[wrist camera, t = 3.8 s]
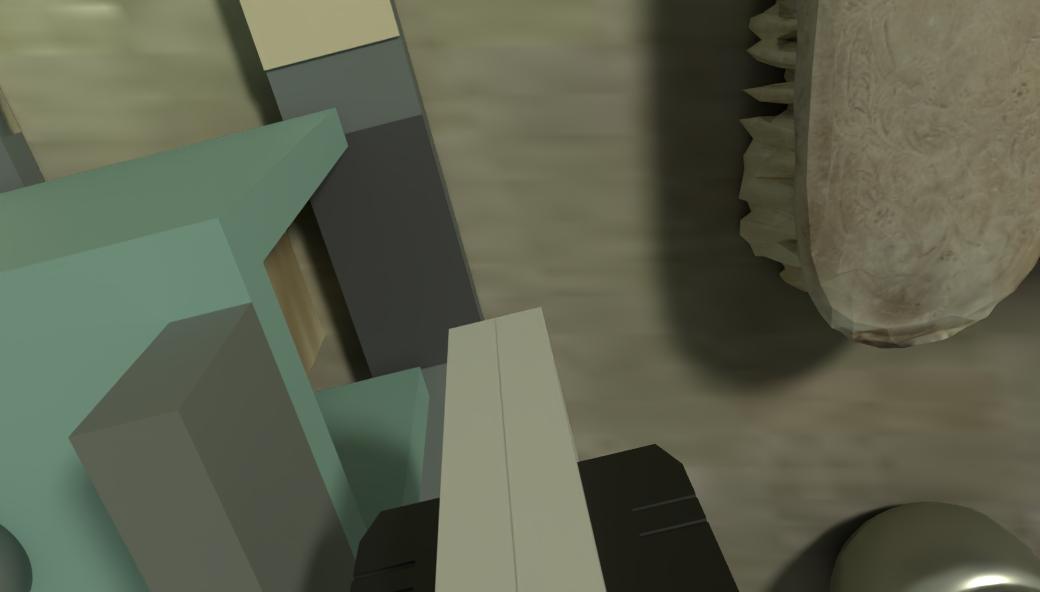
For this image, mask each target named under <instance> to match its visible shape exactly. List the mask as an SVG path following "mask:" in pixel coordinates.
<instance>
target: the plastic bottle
mask: <svg viewBox="0 0 1040 592" xmlns="http://www.w3.org/2000/svg"><path fill="white" fill-rule="evenodd" d="M829 592H1040V561H1039V560H1038V559H1037V557H1036V556H1035V555H1034V553H1033V552H1032V551H1031V549H1030V548H1029V547H1028V546H1027V545H1026V544H1025V543H1023V542H1022V541H1021V540H1019V539H1018V538H1017V537H1016V536H1014V535H1013V534H1011V533H1010V532H1009V531H1007V530H1006V529H1004V528H1003V527H1002V526H1000V525H999V524H997V523H996V522H995V521H993V520H992V519H991V518H989V517H988V516H986V515H984V514H982V513H980V512H978V511H976V510H973V509H971V508H967V507H962V506H958V505H952V504H945V503H938V502H918V503H909V504H905V505H901V506H898V507H894V508H891V509H889V510H887V511H884V512H882V513H880V514H878V515H876V516H874V517H873V518H871V519H870V520H868V521H866V522H865V523H864V524H862V525H861V526H860V527H859V528H858V529H857V530H856V531H854V532H853V533H852V535H851V536H850V537H849V538H848V539H847V541H846V542H845V543H844V545H843V546H842V548H841V550H840V552H839V554H838V556H837V559H836V562H835V565H834V569H833V572H832V576H831V579H830V589H829Z"/></svg>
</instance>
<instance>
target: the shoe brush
mask: <svg viewBox="0 0 1040 592" xmlns="http://www.w3.org/2000/svg"><path fill="white" fill-rule="evenodd" d="M775 1H776V4H775V5H774V6H772V7H771V8H769V9H768V10H766V11H765V12H764V13H762V14H759V15H757V16H754V17H751V18H750V23H749V29H750V30H751V31H753V32H754V33H755V34H756V35H757V36H758V37H759V38H760V39H762V40H761V41H759V42H758V43H756V44H755V45H753V46H752V47H750V48H749V49H747V50H746V51H747V52H748V53H749V54H750V55H751V56H752V57H754V58H755V59H756V60H757V61H759V62H763V63H766V64H769V65H772V66H775V67H780V68H786V71H785V74H784V78H785V80H786V82H785V83H777V84H772V85H767V86H762V87H757V88H751V89H744V90H743V91H745V92H746V93H748V94H749V95H751V96H752V97H754V98H756V99H757V100H759V101H762V102H772V103H782V104H788V107H787V110H785V111H784V112H782V113H781V114H780V115H778V116H763V117H754V118H747V119H740V120H739V121H740V122H741V123H742V125H743V126H744V127H745V128H746V130H747V131H748V132H749V134H750V135H751V136H752V138H753V140H752V142H751V144H750V145H749V147H748V149H747V150H746V152H745V154H744V155H743V158H744V174H743V179H742V184H741V189H740V193H739V199H742V200H745V201H747V202H748V205H749V207H750V210H751V212H750V213H749V214H748V215H747V216H745V217H744V218H742V219H741V221H740V233H739V235H740V236H741V237H742V238H744V239H745V240H746V241H747V242H748V243H749V244H750V246H751V248H752V250H753V253H754V255H755V256H765V257H767V258H770V259H772V260H775V261H778V262H781V263H782V264H783V265H784V267H785V268H784V269H783V270H782V271H781V272H780V273H779V275H780V276H781V278H782V279H783V280H784V282H786V283H788V284H790V285H792V286H794V287H796V288H798V289H800V290H802V291H804V292H808V293H809V295H810V297H811V299H812V301H813V302H814V304H815V306H816V308H817V309H818V311H819V313H820V314H821V315H822V317H823V318H824V319H825V320H826V322H827V323H828V324H829V325H830V327H831V328H833V329H835V330H837V331H839V332H841V333H842V334H843V335H844V336H846V337H847V338H848V339H849V340H850V341H852V342H859V343H863V344H866V345H870V346H874V347H878V348H906V347H911V346H916V345H921V344H926V343H931V342H936V341H940V340H943V339H946V338H949V337H951V336H953V335H954V334H956V333H957V332H959V331H961V330H962V329H964V328H966V327H967V326H969V325H972V324H974V323H976V322H978V321H980V320H982V319H984V318H986V317H988V315H989V314H990V313H991V311H992V310H993V309H994V307H995V306H996V305H997V303H999V302H1000V301H1001V300H1003V299H1004V298H1006V297H1007V296H1008V295H1010V294H1011V293H1013V292H1014V291H1015V290H1016V289H1017V288H1018V287H1019V285H1020V284H1021V283H1022V282H1023V280H1024V279H1025V278H1026V276H1027V275H1028V274H1029V273H1030V271H1031V270H1032V269H1033V268H1034V266H1035V264H1036V263H1037V261H1038V259H1039V257H1040V0H775Z"/></svg>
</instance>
